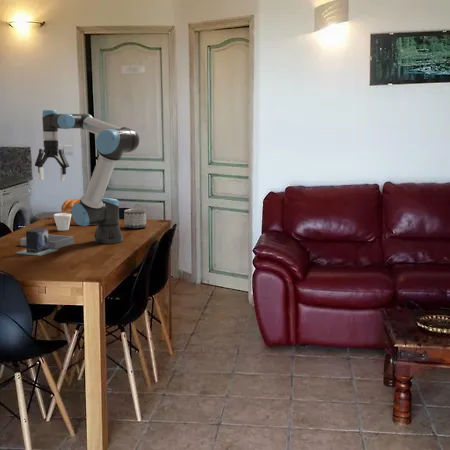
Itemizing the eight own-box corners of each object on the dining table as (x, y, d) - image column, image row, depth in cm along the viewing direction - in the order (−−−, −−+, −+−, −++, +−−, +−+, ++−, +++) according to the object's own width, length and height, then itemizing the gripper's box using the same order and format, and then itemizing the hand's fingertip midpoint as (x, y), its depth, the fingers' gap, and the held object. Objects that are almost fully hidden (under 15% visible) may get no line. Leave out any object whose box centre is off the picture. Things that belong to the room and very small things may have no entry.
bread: (63, 222, 410) (62, 197, 407) (106, 222, 411) (105, 197, 409) (59, 225, 396) (58, 200, 394) (103, 225, 398) (102, 200, 395)
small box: (37, 253, 315) (36, 231, 313) (25, 252, 317) (24, 231, 315) (49, 249, 325) (48, 228, 323) (38, 248, 327) (37, 227, 325)
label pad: (58, 250, 325) (58, 249, 325) (39, 255, 312) (39, 254, 312) (34, 247, 330) (34, 247, 330) (16, 253, 317) (16, 252, 317)
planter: (142, 230, 383) (142, 212, 381) (121, 229, 385) (121, 211, 383) (148, 226, 395) (148, 209, 393) (128, 225, 397) (128, 208, 395)
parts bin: (73, 243, 342) (73, 236, 342) (55, 248, 328) (55, 242, 327) (40, 240, 350) (39, 233, 350) (20, 245, 336) (20, 238, 336)
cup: (55, 232, 374) (54, 216, 373) (53, 229, 383) (52, 213, 382) (73, 231, 378) (72, 215, 376) (70, 228, 387) (69, 212, 386)
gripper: (74, 139, 344) (76, 180, 348) (35, 139, 354) (37, 178, 357) (66, 140, 337) (67, 181, 341) (26, 139, 347) (28, 179, 350)
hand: (52, 180), depth 349 cm, fingers open, 13 cm apart
